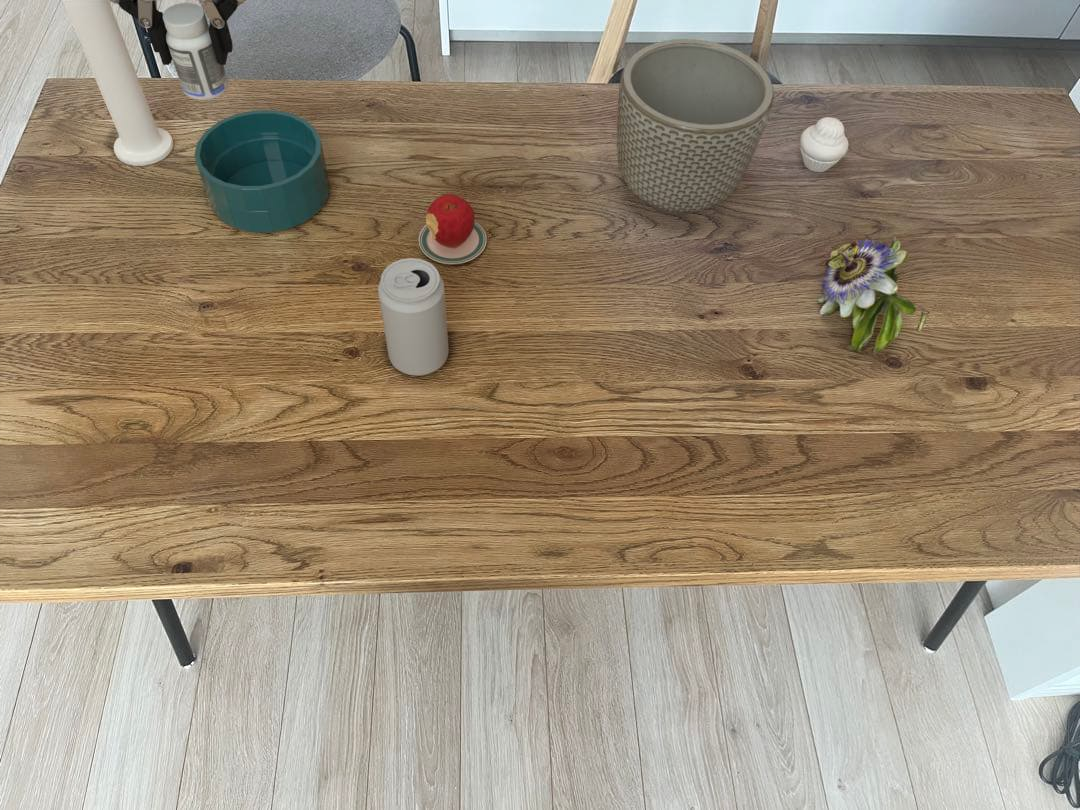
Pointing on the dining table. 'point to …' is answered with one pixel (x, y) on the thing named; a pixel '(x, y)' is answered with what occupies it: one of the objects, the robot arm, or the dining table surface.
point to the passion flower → (867, 290)
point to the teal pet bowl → (263, 170)
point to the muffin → (823, 144)
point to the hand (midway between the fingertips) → (196, 55)
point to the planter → (689, 122)
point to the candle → (118, 83)
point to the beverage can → (414, 316)
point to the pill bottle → (193, 52)
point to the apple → (451, 231)
